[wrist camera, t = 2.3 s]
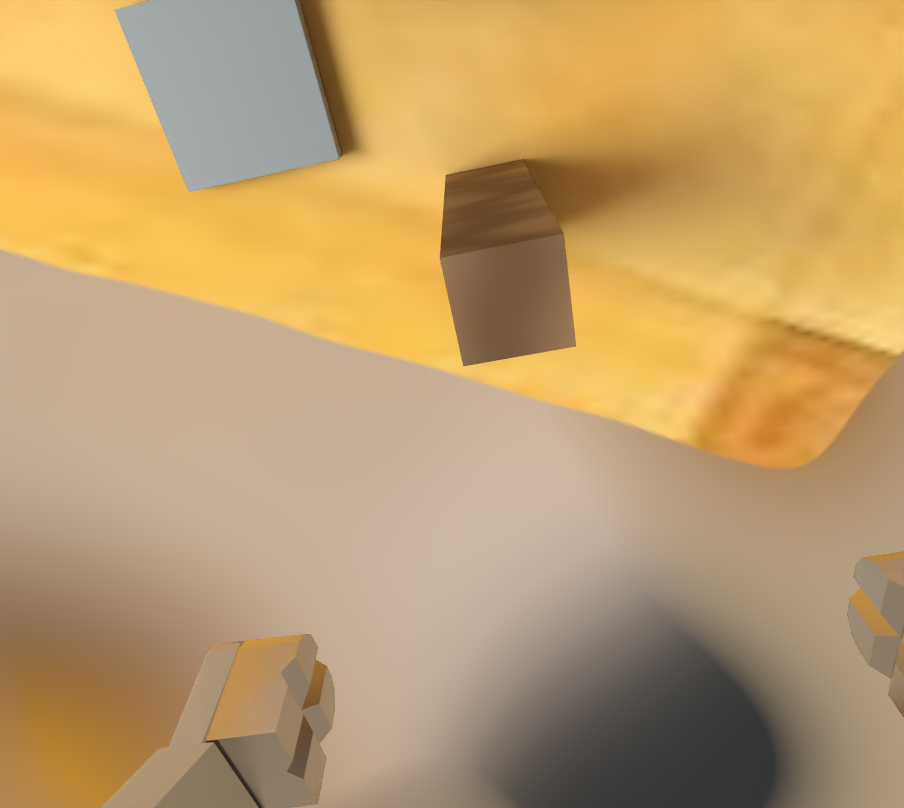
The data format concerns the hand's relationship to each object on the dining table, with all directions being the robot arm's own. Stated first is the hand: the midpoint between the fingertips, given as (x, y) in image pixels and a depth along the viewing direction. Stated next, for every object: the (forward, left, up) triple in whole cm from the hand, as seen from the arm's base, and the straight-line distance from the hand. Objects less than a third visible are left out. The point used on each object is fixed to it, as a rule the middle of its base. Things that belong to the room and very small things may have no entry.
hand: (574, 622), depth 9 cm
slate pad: (+11, -8, -27) cm, 30 cm away
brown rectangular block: (0, 0, -27) cm, 27 cm away
